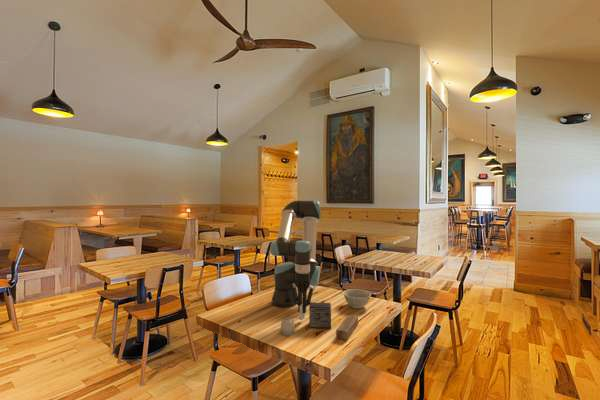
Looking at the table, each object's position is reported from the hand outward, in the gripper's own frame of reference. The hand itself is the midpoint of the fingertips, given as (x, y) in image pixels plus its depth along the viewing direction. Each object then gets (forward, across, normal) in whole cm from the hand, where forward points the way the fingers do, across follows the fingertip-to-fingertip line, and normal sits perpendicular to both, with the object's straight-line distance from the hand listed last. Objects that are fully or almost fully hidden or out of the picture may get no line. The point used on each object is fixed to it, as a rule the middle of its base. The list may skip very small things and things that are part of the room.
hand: (302, 318), depth 148 cm
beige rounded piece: (+2, -1, -13) cm, 14 cm away
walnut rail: (+2, +23, +1) cm, 23 cm away
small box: (+2, +10, +1) cm, 10 cm away
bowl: (+2, +18, +34) cm, 39 cm away
